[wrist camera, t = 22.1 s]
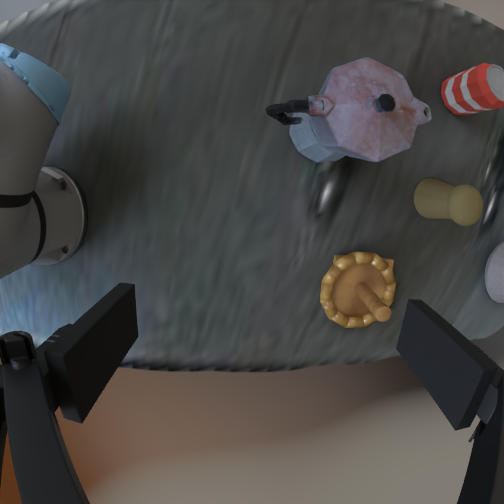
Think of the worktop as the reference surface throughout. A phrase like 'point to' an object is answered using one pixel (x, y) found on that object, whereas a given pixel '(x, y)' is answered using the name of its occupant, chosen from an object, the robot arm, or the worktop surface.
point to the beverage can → (474, 90)
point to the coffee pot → (495, 274)
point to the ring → (335, 272)
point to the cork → (448, 202)
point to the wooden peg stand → (361, 291)
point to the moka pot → (355, 114)
